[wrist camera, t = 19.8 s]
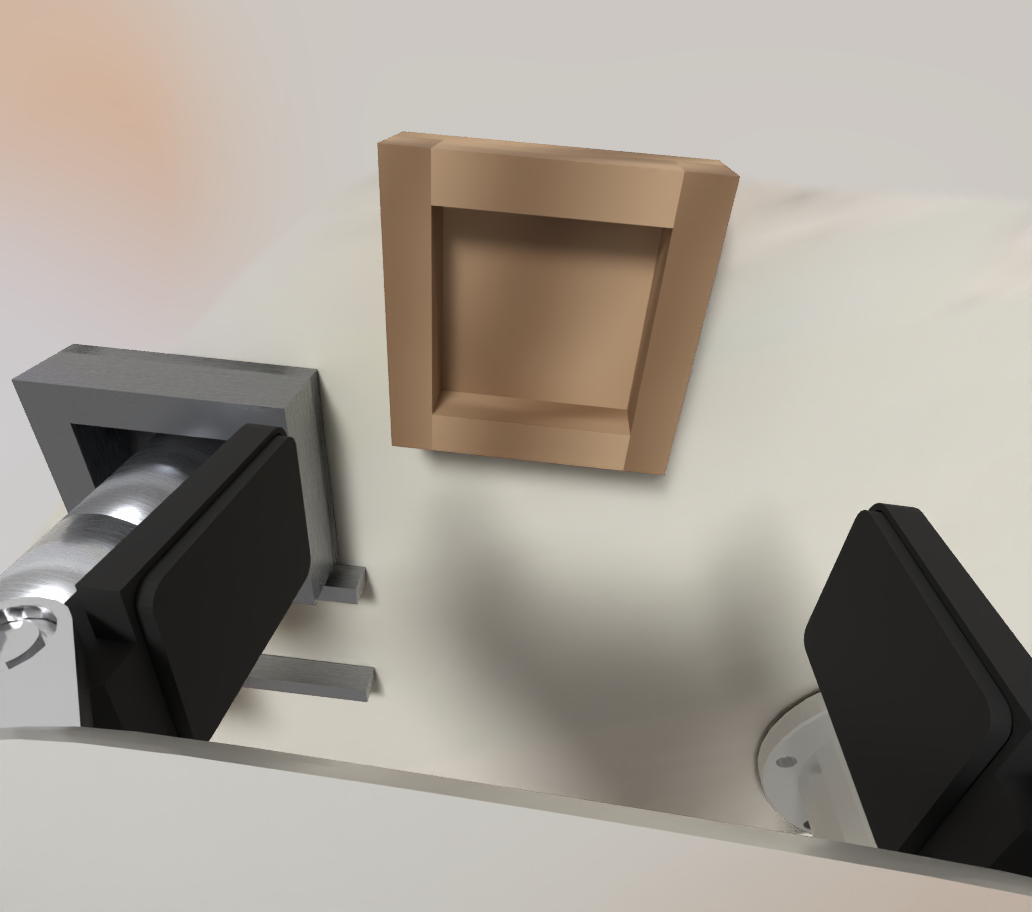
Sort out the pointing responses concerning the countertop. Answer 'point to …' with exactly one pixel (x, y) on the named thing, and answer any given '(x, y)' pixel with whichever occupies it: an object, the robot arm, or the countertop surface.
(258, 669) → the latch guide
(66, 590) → the silver metal cylinder
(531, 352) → the wooden square tray
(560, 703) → the countertop surface
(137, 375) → the socket
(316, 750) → the countertop surface
